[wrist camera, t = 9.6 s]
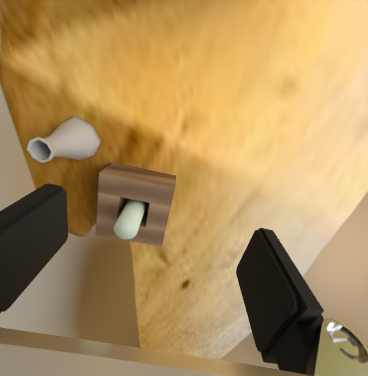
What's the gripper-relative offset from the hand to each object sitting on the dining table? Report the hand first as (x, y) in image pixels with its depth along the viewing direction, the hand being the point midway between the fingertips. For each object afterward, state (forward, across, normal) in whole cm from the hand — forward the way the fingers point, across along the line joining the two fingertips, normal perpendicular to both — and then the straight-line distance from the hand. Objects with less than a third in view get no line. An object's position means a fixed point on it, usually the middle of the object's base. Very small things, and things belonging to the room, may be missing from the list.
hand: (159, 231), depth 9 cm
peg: (+24, +5, +13) cm, 28 cm away
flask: (+26, +17, +4) cm, 32 cm away
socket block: (+26, +5, +13) cm, 29 cm away
